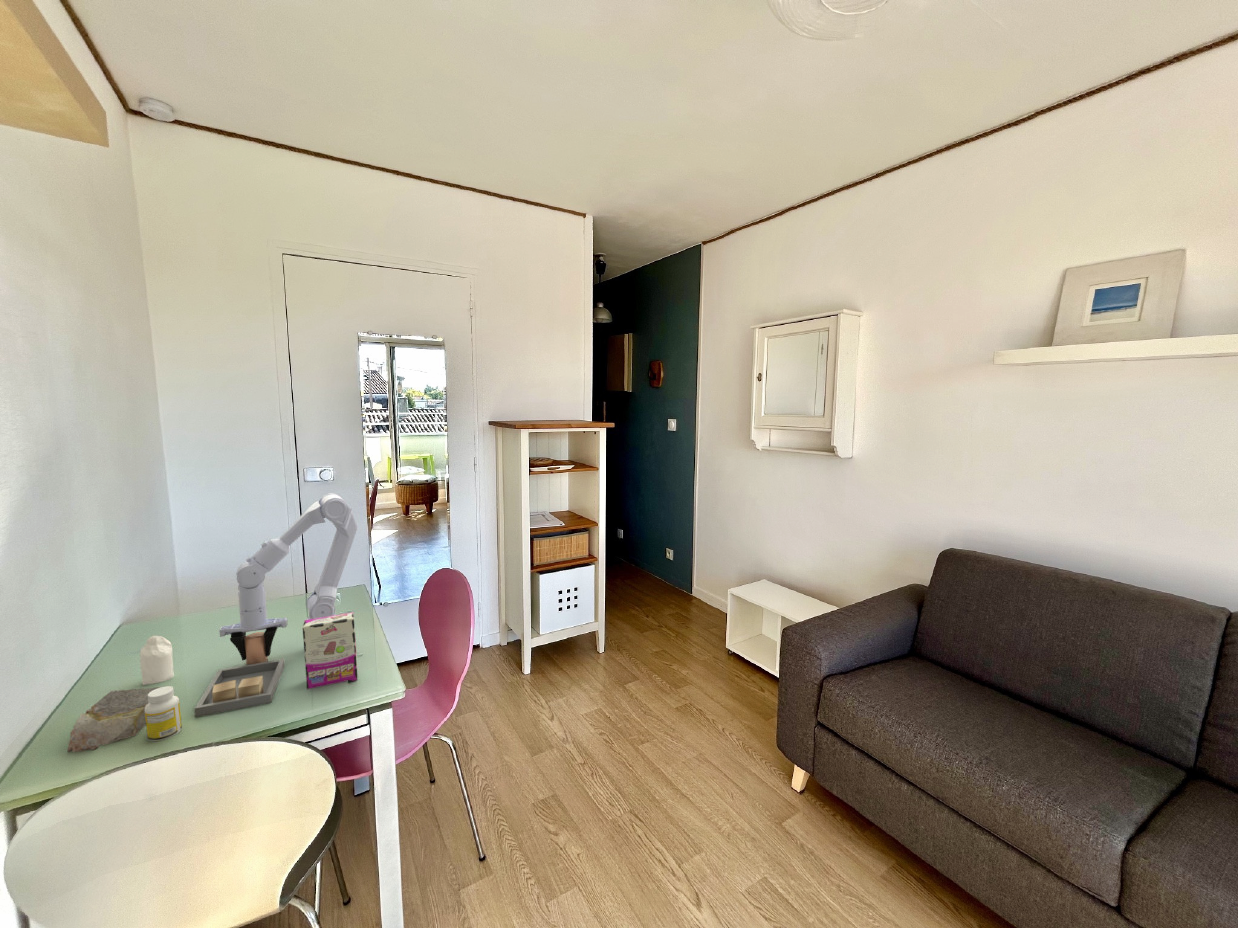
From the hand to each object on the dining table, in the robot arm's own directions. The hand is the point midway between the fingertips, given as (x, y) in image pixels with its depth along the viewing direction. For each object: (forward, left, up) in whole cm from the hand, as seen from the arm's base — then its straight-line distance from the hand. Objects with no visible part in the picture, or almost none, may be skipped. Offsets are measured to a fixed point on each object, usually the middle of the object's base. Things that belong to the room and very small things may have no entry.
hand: (256, 656), depth 136 cm
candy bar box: (-19, +17, -2) cm, 26 cm away
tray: (0, +14, -2) cm, 14 cm away
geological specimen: (+20, +20, -3) cm, 28 cm away
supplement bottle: (+11, +27, -2) cm, 29 cm away
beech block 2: (-2, +19, -2) cm, 19 cm away
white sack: (+21, 0, -2) cm, 21 cm away
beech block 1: (+3, +19, -2) cm, 19 cm away
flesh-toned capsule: (0, 0, -2) cm, 2 cm away
